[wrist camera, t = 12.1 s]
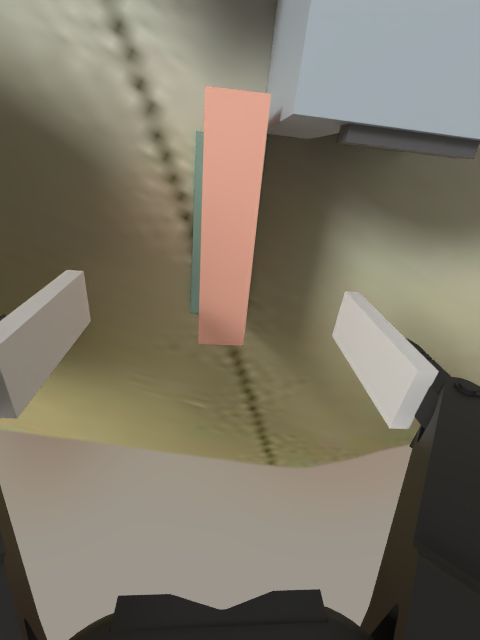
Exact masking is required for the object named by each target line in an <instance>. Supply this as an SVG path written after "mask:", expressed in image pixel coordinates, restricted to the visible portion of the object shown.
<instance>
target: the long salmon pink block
mask: <svg viewBox="0 0 480 640" xmlns="http://www.w3.org/2000/svg"><path fill="white" fill-rule="evenodd" d="M270 100H271V94H268V93H260V92H251V91H243V90H234V89H226V88H217V87H209V86H205V109H204V146H203V183H202V220H201V257H200V295H199V332H198V344H214V345H235V346H243V344H244V335H245V326H246V317H247V308H248V299H249V290H250V281H251V272H252V263H253V254H254V245H255V236H256V227H257V218H258V209H259V200H260V191H261V182H262V172H263V163H264V154H265V145H266V136H267V127H268V118H269V109H270Z"/></svg>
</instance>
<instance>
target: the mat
mask: <svg viewBox="0 0 480 640" xmlns="http://www.w3.org/2000/svg"><path fill="white" fill-rule="evenodd" d="M203 146H204V132H199V131H196V158H195V189H194V219H193V249H192V280H191V310H190V313H199V295H200V257H201V220H202V183H203ZM266 147H267V140H266V145H265V154H264V163H265V155H266ZM264 163H263V170H264ZM262 178H263V172H262ZM261 186H262V182H261ZM260 194H261V191H260ZM259 202H260V200H259Z"/></svg>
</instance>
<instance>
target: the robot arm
mask: <svg viewBox="0 0 480 640" xmlns="http://www.w3.org/2000/svg"><path fill="white" fill-rule="evenodd" d="M90 322H91V319H90V312H89V305H88V298H87V291H86V284H85V277H84V271H75V270H66V271H65V272H63V273H62V274H61V275H59V276H58V277H57V278H56V279H54V280H53V281H52V282H50V283H49V284H48V285H46V286H45V287H44V288H43V289H41V290H40V291H39V292H37V293H36V294H35V295H33V296H32V297H31V298H30V299H28V300H27V301H26V302H24V303H23V304H22V305H20V306H19V307H18V308H17V309H15V310H14V311H13V312H11V313H10V314H9V315H2V316H0V418H18V417H19V415H20V414H21V413H22V411H23V410H24V409H25V407H26V406H27V405H28V403H29V402H30V401H31V400H32V398H33V397H34V396H35V394H36V393H37V392H38V390H39V389H40V388H41V386H42V385H43V384H44V382H45V381H46V380H47V378H48V377H49V376H50V374H51V373H52V372H53V371H54V369H55V368H56V367H57V365H58V364H59V363H60V361H61V360H62V359H63V357H64V356H65V355H66V353H67V352H68V351H69V349H70V348H71V347H72V345H73V344H74V343H75V342H76V340H77V339H78V338H79V336H80V335H81V334H82V332H83V331H84V330H85V328H86V327H87V326H88V324H89V323H90ZM332 337H333V338H334V340H335V342H336V343H337V345H338V346H339V348H340V350H341V351H342V353H343V354H344V356H345V358H346V359H347V361H348V362H349V364H350V366H351V367H352V369H353V370H354V372H355V374H356V375H357V377H358V379H359V380H360V382H361V383H362V385H363V387H364V388H365V390H366V391H367V393H368V395H369V396H370V398H371V399H372V401H373V403H374V404H375V406H376V408H377V409H378V411H379V412H380V414H381V416H382V417H383V419H384V420H385V422H386V424H387V425H388V427H389V428H390V429H409V427H410V425H411V423H412V421H413V420H414V418H416V419H417V420H418V422H419V423H420V424H421V426H420V428H419V430H418V431H417V433H416V435H415V437H414V439H413V441H412V442H411V444H410V447H411V448H413V449H412V453H411V456H410V460H409V463H408V467H407V471H406V474H405V478H404V482H403V486H402V489H401V493H400V496H399V500H398V504H397V507H396V511H395V515H394V518H393V522H392V525H391V529H390V533H389V536H388V540H387V544H386V547H385V551H384V555H383V558H382V562H381V566H380V569H379V573H378V577H377V580H376V584H375V587H374V591H373V595H372V598H371V601H370V605H369V607H368V610H367V612H366V615H365V617H364V619H363V622H362V624H361V626H360V627H359V626H358V625H357V624H356V623H354V622H353V621H352V620H350V619H348V618H347V617H345V616H344V615H342V614H341V613H338V612H336V611H334V610H332V609H330V608H328V607H325V606H324V604H323V600H322V596H321V592H320V589H319V590H287V591H272V592H269V593H267V594H264V595H262V596H259V597H256V598H254V599H251V600H249V601H247V602H244V603H241V604H239V605H236V606H234V607H231V608H229V609H225V610H219V609H216V608H212V607H209V606H206V605H203V604H200V603H197V602H193V601H190V600H187V599H184V598H181V597H178V596H174V595H171V594H161V595H131V596H130V595H129V596H118V599H117V603H116V608H115V612H114V613H113V614H110V615H108V616H105V617H103V618H101V619H99V620H97V621H95V622H94V623H92V624H90V625H88V626H87V627H86V628H84V629H83V630H81V631H80V632H78V633H77V634H75V635H74V636H73V637H72V638H70V639H69V640H480V387H479V386H478V385H476V384H474V383H472V382H470V381H468V380H465V379H462V378H456V377H451V376H450V375H449V374H448V373H447V372H446V371H445V370H443V369H442V368H441V367H440V366H439V365H438V364H437V363H436V362H435V361H434V360H432V358H431V357H430V356H429V355H428V354H426V352H425V351H424V350H423V349H422V348H421V347H420V346H419V345H417V344H415V343H414V342H412V341H411V340H409V339H407V338H405V337H404V336H403V335H402V334H401V333H400V332H398V331H397V330H396V329H395V328H394V327H393V326H392V325H391V324H390V323H389V322H388V321H387V320H386V319H385V318H384V317H383V316H382V315H381V314H380V313H379V312H378V311H377V310H376V309H375V308H374V307H373V306H372V305H371V304H370V303H369V302H368V301H367V300H366V299H365V298H364V297H363V296H362V295H361V294H360V293H359V292H349V291H345V293H344V296H343V300H342V303H341V307H340V310H339V313H338V317H337V320H336V324H335V327H334V330H333V334H332ZM0 640H47V638H46V636H45V633H44V630H43V627H42V625H41V622H40V619H39V616H38V613H37V609H36V606H35V603H34V599H33V596H32V593H31V589H30V586H29V582H28V579H27V576H26V572H25V568H24V565H23V562H22V558H21V555H20V551H19V548H18V544H17V541H16V538H15V534H14V531H13V527H12V524H11V521H10V517H9V514H8V510H7V507H6V503H5V500H4V497H3V493H2V490H1V486H0Z"/></svg>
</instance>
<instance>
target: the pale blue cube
mask: <svg viewBox="0 0 480 640" xmlns="http://www.w3.org/2000/svg"><path fill="white" fill-rule="evenodd" d="M266 93H268V94H271V100H270V109H269V118H268V127H267V134H272V135H280V136H288V137H296V138H303V139H312V138H317V137H322V136H327V135H332V134H337V133H339V135H338V140H337V143H341V144H349V145H356V146H364V147H372V148H379V149H387V150H395V151H403V152H410V153H418V154H426V155H434V156H441V157H449V158H474V156H475V154H476V151H477V150H480V0H277V9H276V17H275V25H274V34H273V42H272V50H271V59H270V67H269V76H268V84H267V92H266Z"/></svg>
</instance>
